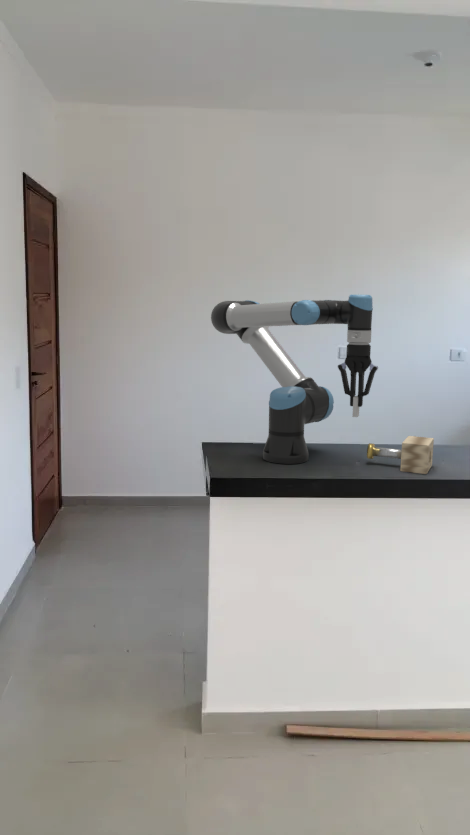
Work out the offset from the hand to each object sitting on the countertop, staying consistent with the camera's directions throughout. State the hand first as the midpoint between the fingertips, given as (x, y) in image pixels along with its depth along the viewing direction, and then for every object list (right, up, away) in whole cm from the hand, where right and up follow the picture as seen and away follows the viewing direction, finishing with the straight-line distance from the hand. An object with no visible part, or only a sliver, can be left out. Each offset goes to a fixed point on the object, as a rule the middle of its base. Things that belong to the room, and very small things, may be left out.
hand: (355, 416), depth 226 cm
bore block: (+18, -16, -5) cm, 25 cm away
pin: (+10, -14, -2) cm, 18 cm away
